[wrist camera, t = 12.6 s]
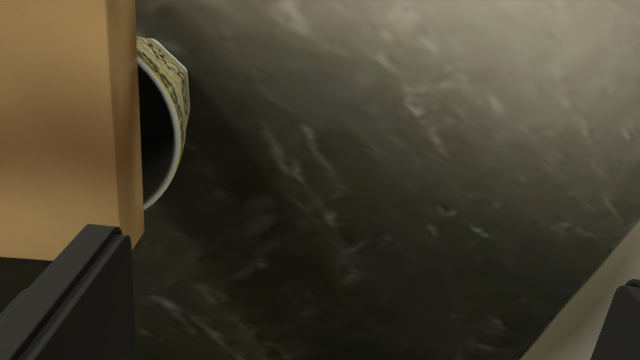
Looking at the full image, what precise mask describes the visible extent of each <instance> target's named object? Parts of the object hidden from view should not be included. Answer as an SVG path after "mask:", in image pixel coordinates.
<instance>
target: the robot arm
mask: <svg viewBox="0 0 640 360" xmlns="http://www.w3.org/2000/svg"><path fill="white" fill-rule="evenodd" d="M134 356H135V328H134V301H133V274H132V246H131V238H130V236H129V235H122V231H121V229H120V228H119V227H116V226H106V225H96V224H87V225H86V226H85V227H84V228H83V229H82V230H81V231H80V232H79V233H78V234H77V235H76V237H75V238H74V239H73V240H72V241H71V242H70V243H69V244H68V245H67V246H66V248H65V249H64V250H63V251H62V252H61V253H60V254H59V255H58V256H57V257H56V258H55V260H54V261H53V262H52V263H51V264H50V265H49V266H48V267H47V268H46V269H45V271H44V272H43V273H42V274H41V275H40V276H39V277H38V278H37V279H36V280H35V282H34V283H33V284H32V285H31V286H30V287H29V288H27V289H24V290H23V291H22V292H21V293H20V294H18V295H17V297H16V298H15V299H14V300H13V301H12V302H11V303H10V304H9V305H8V306H7V307H6V308H5V310H4V311H3V312H2V313H1V314H0V360H134ZM590 360H640V280H637V279H632V280H629V281H628V282H627V283H626V284H625V286H620V287H619V288H618V289H617V290H616V292H615V294H614V297H613V300H612V303H611V305H610V308H609V311H608V313H607V316H606V319H605V322H604V324H603V327H602V330H601V332H600V335H599V338H598V341H597V343H596V346H595V349H594V351H593V354H592V357H591V359H590Z"/></svg>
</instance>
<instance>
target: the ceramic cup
mask: <svg viewBox="0 0 640 360" xmlns="http://www.w3.org/2000/svg"><path fill="white" fill-rule="evenodd" d="M136 39H137V63H138V88H139V112H140V136H141V160H142V185H143V209H144V210H145V209H146V208H148V207H149V206H151V205H152V204H153V203H154V202H155V201H156V200H157V199H158V198H159V197H160V196H161V195H162V194H163V193H164V192H165V190H166V189H167V187H168V186H169V184H170V183H171V181H172V179H173V177H174V175H175V172H176V170H177V168H178V165H179V163H180V160H181V157H182V153H183V148H184V144H185V136H186V127H187V122H188V118H189V114H190V99H189V85H188V72H187V69H186V68H185V67H184V66H183V65H182V64H181V63H180V62H179V61H178V60H177V59H176V58H175V57H174V56H172V55H171V54H170V53H169V52H168V51H167V50H166V49H165V48H164V47H163V46H162V45H161V44H160V43H159V42H158V41H157V40H155V39H151V38H141V37H137V36H136Z"/></svg>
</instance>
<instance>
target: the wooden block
mask: <svg viewBox="0 0 640 360" xmlns="http://www.w3.org/2000/svg"><path fill="white" fill-rule="evenodd" d="M87 224H96V225H106V226H116V227H119V228H120V229H121V231H122V235H129V236H130V238H131V246H132V249H133V248H134V246H135V245H136V243H137V242H138V240H139V239H140V237H141V236H142V234H143V233H144V209H143V185H142V160H141V136H140V112H139V88H138V63H137V39H136V15H135V0H0V257H9V258H23V259H36V260H50V261H54V260H55V258H56V257H57V256H58V255H59V254H60V253H61V252H62V251H63V250H64V249H65V248H66V246H67V245H68V244H69V243H70V242H71V241H72V240H73V239H74V238H75V237H76V235H77V234H78V233H79V232H80V231H81V230H82V229H83V228H84V227H85V226H86V225H87Z"/></svg>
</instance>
